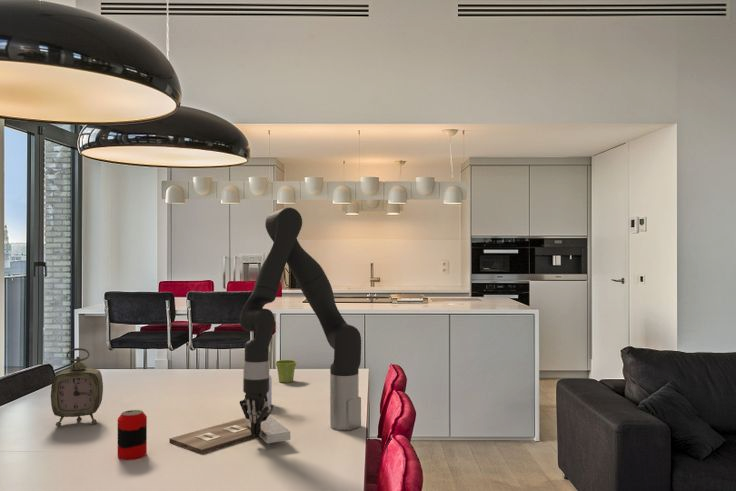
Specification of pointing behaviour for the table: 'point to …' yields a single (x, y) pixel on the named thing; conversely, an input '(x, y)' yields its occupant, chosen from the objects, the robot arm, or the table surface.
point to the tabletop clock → (76, 391)
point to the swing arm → (272, 430)
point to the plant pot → (286, 370)
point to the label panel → (214, 436)
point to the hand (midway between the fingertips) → (255, 434)
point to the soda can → (132, 435)
